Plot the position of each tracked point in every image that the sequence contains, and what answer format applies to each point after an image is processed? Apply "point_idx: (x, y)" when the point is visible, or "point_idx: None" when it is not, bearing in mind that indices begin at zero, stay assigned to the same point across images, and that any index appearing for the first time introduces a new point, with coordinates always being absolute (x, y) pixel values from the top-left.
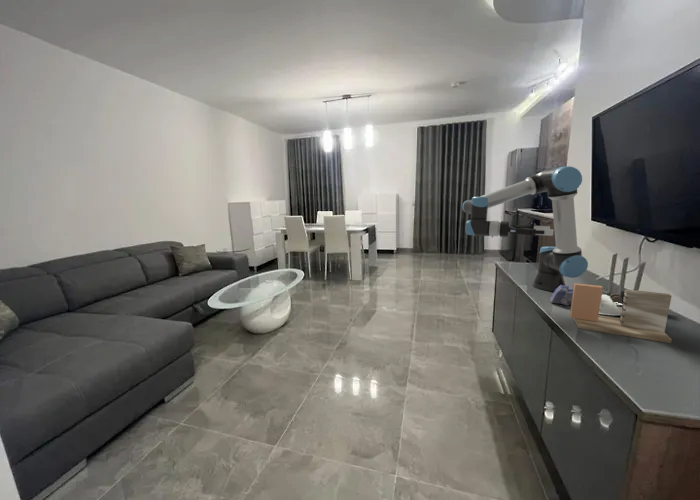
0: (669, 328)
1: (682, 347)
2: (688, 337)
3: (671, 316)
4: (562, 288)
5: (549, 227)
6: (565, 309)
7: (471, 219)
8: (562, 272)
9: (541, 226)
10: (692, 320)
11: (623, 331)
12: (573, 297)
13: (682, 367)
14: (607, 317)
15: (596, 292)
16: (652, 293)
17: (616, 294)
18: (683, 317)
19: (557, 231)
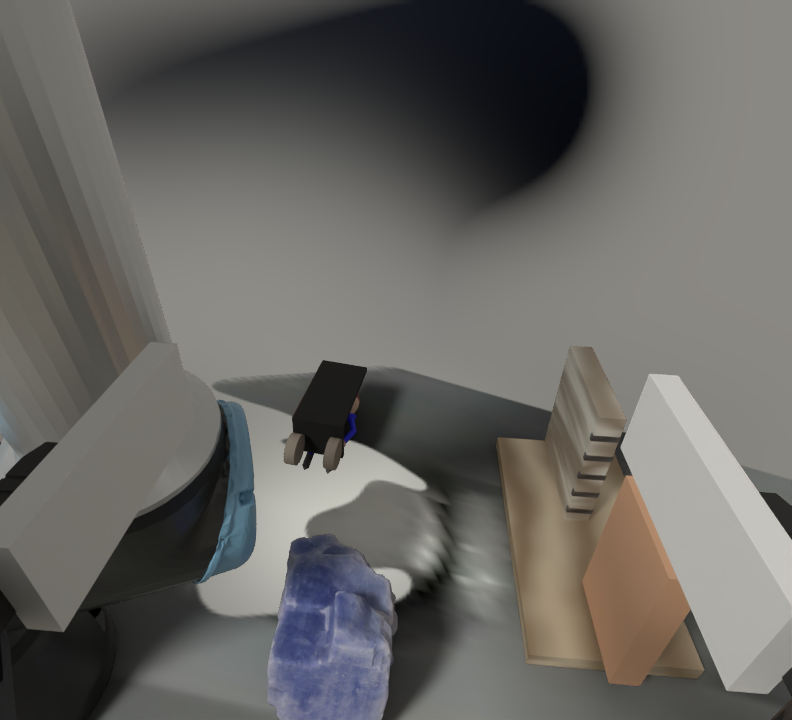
0: (483, 421)
1: (620, 443)
2: (530, 412)
3: (373, 388)
4: (382, 635)
5: (179, 364)
6: (445, 676)
7: None
8: (230, 569)
9: (109, 433)
10: (388, 367)
11: None
12: (673, 627)
13: (773, 487)
14: (518, 536)
15: None
16: (601, 373)
17: (299, 438)
18: (370, 372)
19: (58, 346)
